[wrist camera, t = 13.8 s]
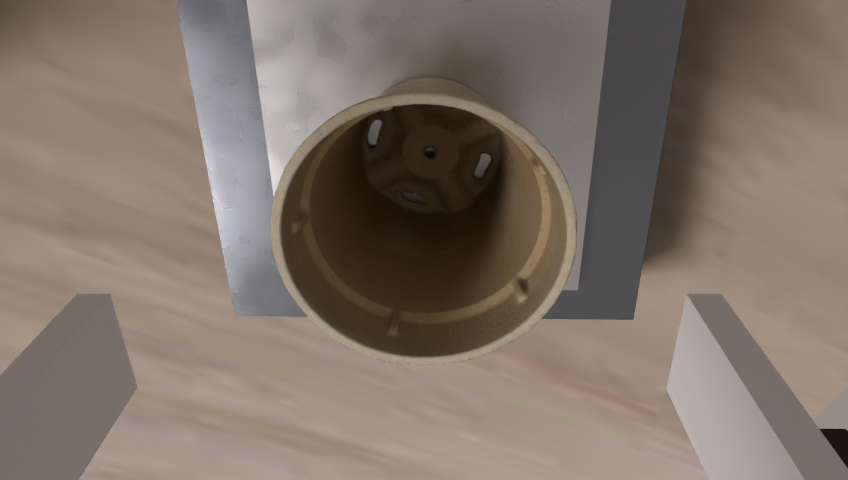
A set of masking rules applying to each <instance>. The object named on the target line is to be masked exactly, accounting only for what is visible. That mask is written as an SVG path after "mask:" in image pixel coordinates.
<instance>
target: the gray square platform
mask: <svg viewBox="0 0 848 480" xmlns="http://www.w3.org/2000/svg"><path fill="white" fill-rule="evenodd" d="M686 1H687V0H176V5H177V10H178V15H179V21H180V26H181V31H182V37H183V42H184V47H185V53H186V58H187V63H188V69H189V74H190V79H191V85H192V90H193V95H194V101H195V106H196V111H197V117H198V122H199V127H200V133H201V138H202V143H203V149H204V154H205V159H206V165H207V170H208V175H209V181H210V186H211V191H212V197H213V202H214V207H215V213H216V218H217V223H218V229H219V234H220V239H221V245H222V250H223V255H224V261H225V266H226V271H227V277H228V282H229V287H230V293H231V298H232V303H233V309H234V314H235V316H292V317H308V316H307V315H306V314H305V313H304V311H303V310H302V309H301V308H300V307H299V306H298V305H297V303H296V301H295V300H294V299H293V297H292V296H291V294H290V292H289V291H288V289H287V288H286V286H285V284H284V282H283V279H282V277H281V275H280V272H279V270H278V267H277V264H276V260H275V257H274V253H273V247H272V240H271V213H272V205H273V201H274V195H275V192H276V189H277V186H278V183H279V180H280V178H281V175H282V173H283V171H284V168H285V167H286V165H287V163H288V162H289V160H290V159H291V157H292V156H293V154H294V153H295V151H296V150H297V149H298V147H299V146H300V145H301V144H302V142H303V141H304V140H305V139H306V138H307V137H308V136H309V135H310V134H311V133H313V132H314V131H315V130H316V129H317V128H318V127H319V126H320V125H322V124H323V123H324V122H326V121H327V120H328V119H330V118H331V117H333V116H334V115H336V114H337V113H339V112H341V111H343V110H345V109H346V108H348V107H350V106H352V105H355V104H357V103H360V102H362V101H365V100H368V99H371V98H375V97H378V96H381V95H382V94H383V93H384V92H386V91H387V90H389V89H391V88H392V87H394V86H396V85H398V84H401V83H403V82H407V81H410V80H413V79H418V78H441V79H447V80H451V81H454V82H457V83H460V84H462V85H464V86H466V87H468V88H470V89H471V90H473V91H474V92H476V93H477V94H478V95H479V96H481V97H482V98H483V99H484V100H485V101H486V102H487V104H488V105H490V106H492V107H494V108H496V109H498V110H500V111H502V112H503V113H505V114H507V115H508V116H510V117H512V118H514V119H515V120H516V121H518V122H519V123H520V124H522V125H523V126H524V127H526V128H527V129H528V130H529V131H530V132H531V133H532V134H534V135H535V136H536V137H537V138H538V139H539V140H540V142H541V143H542V144H543V145H544V146H545V147H546V148H547V149H548V150H549V152H550V153H551V154H552V156H553V157H554V158H555V160H556V161H557V163H558V164H559V166H560V168H561V169H562V171H563V173H564V175H565V177H566V179H567V182H568V184H569V187H570V189H571V192H572V194H573V198H574V203H575V207H576V212H577V227H578V230H577V248H576V254H575V259H574V263H573V266H572V269H571V272H570V274H569V277H568V280H567V282H566V284H565V286H564V288H563V290H562V292H561V294H560V295H559V297H558V298H557V300H556V302H555V303H554V305H553V306H552V307H551V308H550V309H549V311H548V312H547V313H546V314H545V315H544V316H543V317H542V319H619V320H633V318H634V312H635V306H636V300H637V294H638V288H639V282H640V276H641V270H642V264H643V259H644V253H645V247H646V241H647V235H648V229H649V223H650V217H651V211H652V205H653V199H654V193H655V187H656V181H657V175H658V169H659V163H660V157H661V151H662V145H663V139H664V133H665V127H666V121H667V115H668V109H669V103H670V97H671V91H672V85H673V79H674V73H675V67H676V61H677V55H678V49H679V43H680V37H681V31H682V25H683V19H684V13H685V7H686ZM381 125H382V122H381V121H380V120H375V121H374V122H373V123H372V124H371V126H370V130H369V133H368V137H367V138H368V145H369V147H372V148H374V147H376V142H377V138H378V135H379V131H380V128H381ZM425 154H426V156H427V157H428V158H432V157H434V156H435V153H434V150H433V149H432V148H429V149H427V150H426V151H425ZM490 163H491V156H490V155H488V154H481V158H480V161H479V163H478V165H477V168H476V170H475V172H474V177H475V178H476V179H478V180H480V179H481V178H482V177H483V176H484V174H485V171H486V170H487V169H488V167H489V165H490ZM416 194H417V193H414V194H409V193H406V192H403V193H402V195H403V197H404V198H406V199H407V200H410V201H414V202H417V203H423V204H425V199H424V198H421V197H419V196H418V195H416Z"/></svg>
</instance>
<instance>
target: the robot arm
mask: <svg viewBox="0 0 848 480" xmlns="http://www.w3.org/2000/svg"><path fill="white" fill-rule="evenodd" d="M136 388H137V384H136V380H135V377H134V374H133V370H132V367H131V364H130V360H129V357H128V354H127V350H126V347H125V344H124V340H123V337H122V333H121V330H120V327H119V323H118V320H117V317H116V313H115V310H114V307H113V303H112V300H111V297H110V294H77V295H76V296H75V297H74V298H73V299H72V300H71V301H70V302H69V303H68V304H67V305H66V306H65V308H64V309H63V310H62V311H61V312H60V313H59V314H58V315H57V316H56V317H55V318H54V319H53V320H52V321H51V322H50V323H49V324H48V325H47V327H46V328H45V329H44V330H43V331H42V332H41V333H40V334H39V335H38V336H37V337H36V338H35V339H34V340H33V341H32V342H31V343H30V345H29V346H28V347H27V348H26V349H25V350H24V351H23V352H22V353H21V354H20V355H19V356H18V357H17V358H16V359H15V360H14V361H13V362H12V364H11V365H10V366H9V367H8V368H7V369H6V370H5V371H4V372H3V373H2V374H1V375H0V480H78V479H79V478H80V476H81V475H82V473H83V472H84V470H85V468H86V467H87V465H88V464H89V462H90V461H91V459H92V457H93V456H94V454H95V453H96V451H97V450H98V448H99V446H100V445H101V443H102V442H103V440H104V439H105V437H106V435H107V434H108V432H109V431H110V429H111V428H112V426H113V424H114V423H115V421H116V420H117V418H118V417H119V415H120V413H121V412H122V410H123V409H124V407H125V406H126V404H127V402H128V401H129V399H130V398H131V396H132V395H133V393H134V391H135V390H136ZM667 391H668V394H669V396H670V398H671V400H672V402H673V404H674V406H675V409H676V411H677V413H678V415H679V417H680V419H681V421H682V424H683V426H684V428H685V430H686V432H687V434H688V436H689V439H690V441H691V443H692V445H693V447H694V449H695V451H696V454H697V456H698V458H699V460H700V462H701V464H702V466H703V468H704V471H705V473H706V475H707V477H708V479H709V480H848V431H847V430H846V429H819V428H818V427H817V426H816V424H815V422H814V421H813V420H812V418H811V417H810V416H809V414H808V413H807V411H806V410H805V409H804V407H803V406H802V405H801V403H800V402H799V400H798V399H797V398H796V396H795V395H794V394H793V392H792V391H791V389H790V388H789V387H788V385H787V384H786V383H785V381H784V380H783V378H782V377H781V376H780V374H779V373H778V371H777V370H776V369H775V367H774V366H773V365H772V363H771V362H770V360H769V359H768V358H767V356H766V355H765V354H764V352H763V351H762V349H761V348H760V347H759V345H758V344H757V343H756V341H755V340H754V338H753V337H752V336H751V334H750V333H749V332H748V330H747V329H746V327H745V326H744V325H743V323H742V322H741V320H740V319H739V318H738V316H737V315H736V314H735V312H734V311H733V309H732V308H731V307H730V305H729V304H728V303H727V301H726V300H725V298H724V297H723V296H722V294H687V295H686V300H685V305H684V309H683V314H682V319H681V323H680V328H679V333H678V337H677V342H676V347H675V351H674V356H673V361H672V366H671V370H670V375H669V380H668V384H667Z"/></svg>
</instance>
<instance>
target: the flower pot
mask: <svg viewBox="0 0 848 480" xmlns="http://www.w3.org/2000/svg"><path fill="white" fill-rule="evenodd" d="M375 120H380V121H381V122H382V125H381V128H380V131H379V135H378V138H377V142H376V147H374V148H372V147H369V145H368V138H367V137H368V133H369V130H370V126H371V124H372V123H373V122H374V121H375ZM429 148H432V149H433V150H434V153H435V156H434V157H432V158H428V157H427V156H426V154H425V151H426V150H427V149H429ZM481 154H488V155H490V156H491V163H490V165H489V167H488V169H487V170H486V171H485V174H484V176H483V177H482V178H481V179H480V180H478V179H476V178H475V177H474V172H475V170H476V168H477V165H478V163H479V161H480V158H481ZM403 192H406V193H409V194H414V193H417V194H416V195H418V196H419V197H421V198H424V199H425V204H423V203H417V202H414V201H410V200H407V199H406V198H404V197H403V195H402V193H403ZM577 230H578V227H577V212H576V207H575V203H574V198H573V194H572V192H571V189H570V187H569V184H568V182H567V179H566V177H565V175H564V173H563V171H562V169H561V168H560V166H559V164H558V163H557V161H556V160H555V158H554V157H553V156H552V154H551V153H550V152H549V150H548V149H547V148H546V147H545V146H544V145H543V144H542V143H541V142H540V140H539V139H538V138H537V137H536V136H535V135H534V134H532V133H531V132H530V131H529V130H528V129H527V128H526V127H524V126H523V125H522V124H520V123H519V122H518V121H516V120H515V119H514V118H512V117H510V116H508V115H507V114H505V113H503V112H502V111H500V110H498V109H496V108H494V107H492V106H490V105H488V104H487V102H486V101H485V100H484V99H483V98H482V97H481V96H479V95H478V94H477V93H476V92H474V91H473V90H471V89H470V88H468V87H466V86H464V85H462V84H460V83H457V82H454V81H451V80H447V79H441V78H418V79H413V80H410V81H407V82H403V83H401V84H398V85H396V86H394V87H392V88H391V89H389V90H387V91H386V92H384V93H383V94H382V95H381V96H378V97H375V98H371V99H368V100H365V101H362V102H360V103H357V104H355V105H352V106H350V107H348V108H346V109H345V110H343V111H341V112H339V113H337V114H336V115H334V116H333V117H331V118H330V119H328V120H327V121H326V122H324V123H323V124H322V125H320V126H319V127H318V128H317V129H316V130H315V131H314V132H313V133H311V134H310V135H309V136H308V137H307V138H306V139H305V140H304V141H303V142H302V144H301V145H300V146H299V147H298V149H297V150H296V151H295V153H294V154H293V156H292V157H291V159H290V160H289V162H288V163H287V165H286V167H285V168H284V171H283V173H282V175H281V178H280V180H279V183H278V186H277V189H276V192H275V195H274V201H273V205H272V213H271V240H272V247H273V253H274V257H275V260H276V264H277V267H278V270H279V272H280V275H281V277H282V279H283V282H284V284H285V286H286V288H287V289H288V291H289V292H290V294H291V296H292V297H293V299H294V300H295V301H296V303H297V305H298V306H299V307H300V308H301V309H302V310H303V311H304V313H305V314H306V315H307V316H308V317H309V318H310V319H311V320H312V321H313V323H314V324H316V325H317V326H318V327H320V328H321V329H322V330H323V331H324V332H326V333H327V334H328V335H329V336H331V337H332V338H334V339H336V340H337V341H339V342H340V343H342V344H344V345H345V346H348V347H350V348H352V349H354V350H356V351H359V352H361V353H364V354H365V355H368V356H372V357H376V358H378V359H381V360H384V361H389V362H391V361H394V362H396V363H406V364H417V365H438V364H447V363H456V362H461V361H465V360H471V359H472V358H476V357H480V356H483V355H486V354H488V353H491V352H493V351H495V350H497V349H499V348H501V347H503V346H505V345H507V344H509V343H511V342H512V341H514V340H515V339H517V338H518V337H520V336H521V335H523V334H524V333H525V332H527V331H528V330H530V329H531V328H532V327H533V326H534V325H535V324H536V323H538V322H539V320H541V319H542V317H543V316H544V315H545V314H546V313H547V312H548V311H549V309H550V308H551V307H552V306H553V305H554V303H555V302H556V300H557V298H558V297H559V295H560V294H561V292H562V290H563V288H564V286H565V284H566V282H567V280H568V277H569V274H570V272H571V269H572V266H573V263H574V259H575V254H576V248H577Z"/></svg>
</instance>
